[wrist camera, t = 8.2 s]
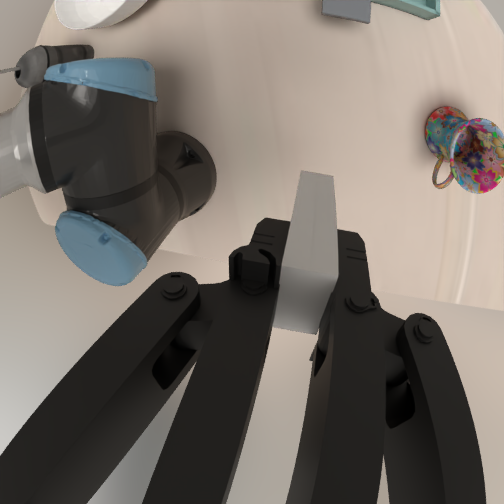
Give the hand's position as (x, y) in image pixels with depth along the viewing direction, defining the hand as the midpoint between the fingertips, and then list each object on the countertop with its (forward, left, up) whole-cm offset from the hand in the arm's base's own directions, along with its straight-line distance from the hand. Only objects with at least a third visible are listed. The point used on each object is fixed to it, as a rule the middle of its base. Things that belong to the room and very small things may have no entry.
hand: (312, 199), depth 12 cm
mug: (+19, +1, -27) cm, 33 cm away
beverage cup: (-40, +12, -27) cm, 50 cm away
